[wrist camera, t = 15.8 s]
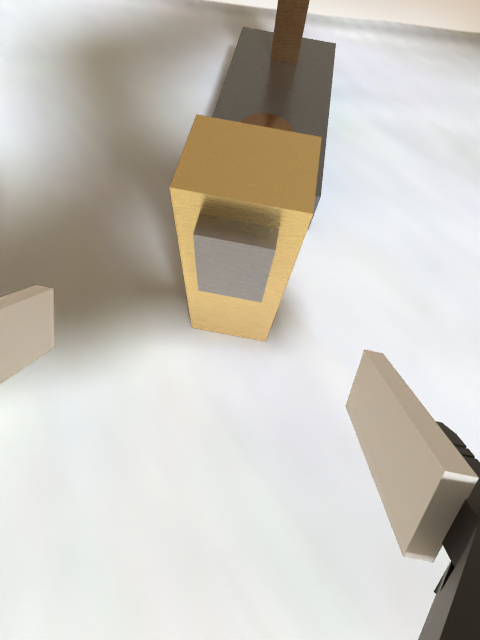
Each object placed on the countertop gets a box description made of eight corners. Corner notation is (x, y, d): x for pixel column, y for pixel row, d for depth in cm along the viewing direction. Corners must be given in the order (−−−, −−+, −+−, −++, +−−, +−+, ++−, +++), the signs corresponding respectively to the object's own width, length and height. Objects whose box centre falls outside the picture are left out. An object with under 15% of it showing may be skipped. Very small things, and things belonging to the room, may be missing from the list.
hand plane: (324, 82, 35) (371, -84, 25) (307, 233, 26) (367, 75, 16) (240, 67, 35) (250, -105, 25) (195, 212, 26) (183, 41, 16)
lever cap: (273, 290, 24) (321, 137, 13) (263, 355, 22) (310, 237, 11) (205, 277, 24) (196, 114, 13) (188, 341, 22) (161, 209, 11)
